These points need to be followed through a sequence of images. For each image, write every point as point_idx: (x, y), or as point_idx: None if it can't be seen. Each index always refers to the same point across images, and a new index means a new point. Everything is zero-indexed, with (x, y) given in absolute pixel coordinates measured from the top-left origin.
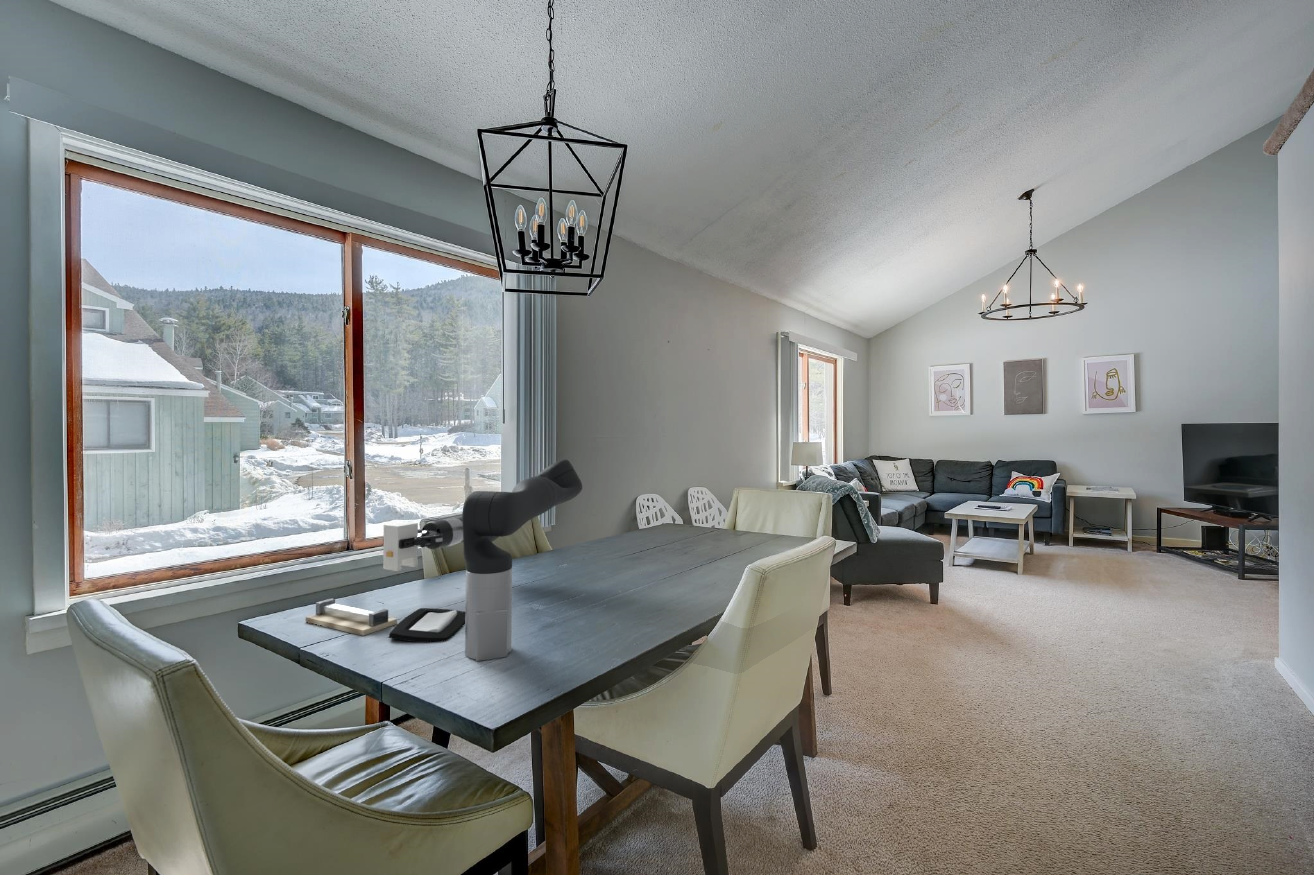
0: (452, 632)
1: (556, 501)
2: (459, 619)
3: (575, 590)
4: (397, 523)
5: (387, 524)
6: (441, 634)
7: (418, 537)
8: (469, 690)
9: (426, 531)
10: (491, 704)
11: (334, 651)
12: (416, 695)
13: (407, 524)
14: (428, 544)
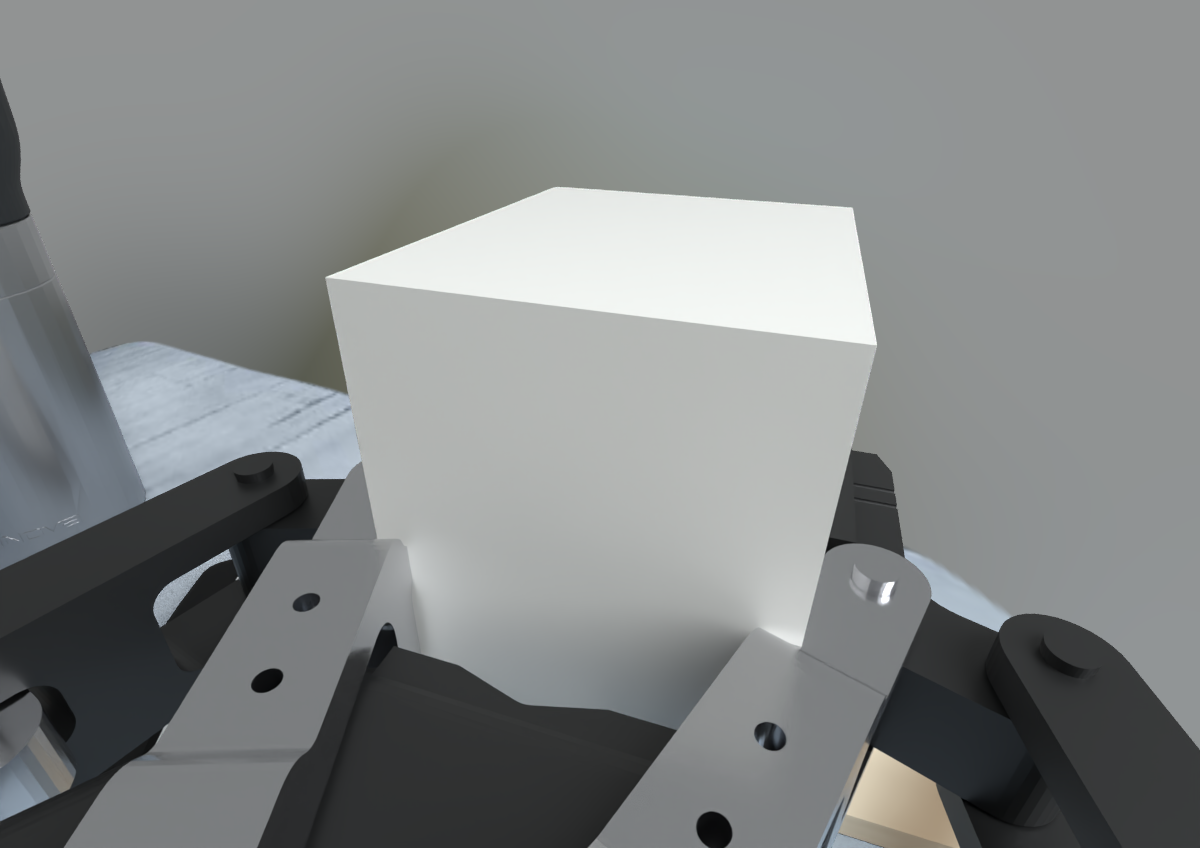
0: (173, 614)
1: None
2: (106, 771)
3: None
4: (767, 247)
5: (840, 217)
6: (225, 576)
7: (343, 497)
8: (164, 392)
9: (146, 758)
10: (127, 369)
11: None
12: (277, 377)
13: (499, 225)
14: (185, 615)
